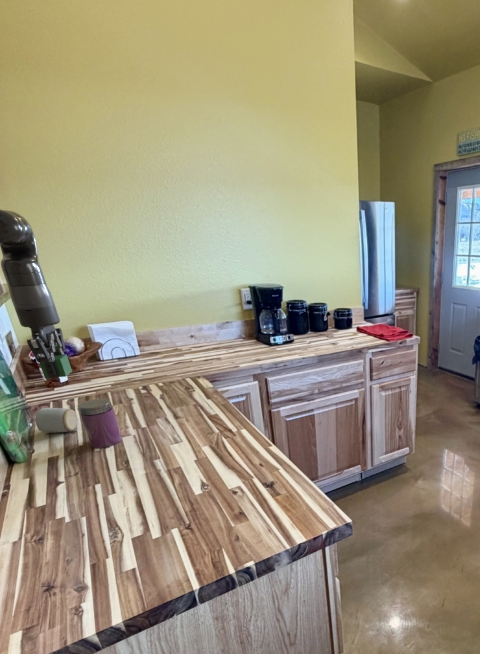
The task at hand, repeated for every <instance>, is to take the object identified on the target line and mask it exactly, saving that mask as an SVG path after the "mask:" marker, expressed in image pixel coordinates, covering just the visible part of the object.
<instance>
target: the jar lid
mask: <svg viewBox="0 0 480 654" xmlns="http://www.w3.org/2000/svg"><path fill="white" fill-rule="evenodd" d="M112 407H113V404H112V403H111V400H110V399H109V398H94V399H90V400H89V399H88V400H85V401H84V402H80V403H79V404H78V411H79V414H80V413H81V414H83V415H94V414H100V413H103V412H106V411H108V410H110V409H111V408H112Z"/></svg>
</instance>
